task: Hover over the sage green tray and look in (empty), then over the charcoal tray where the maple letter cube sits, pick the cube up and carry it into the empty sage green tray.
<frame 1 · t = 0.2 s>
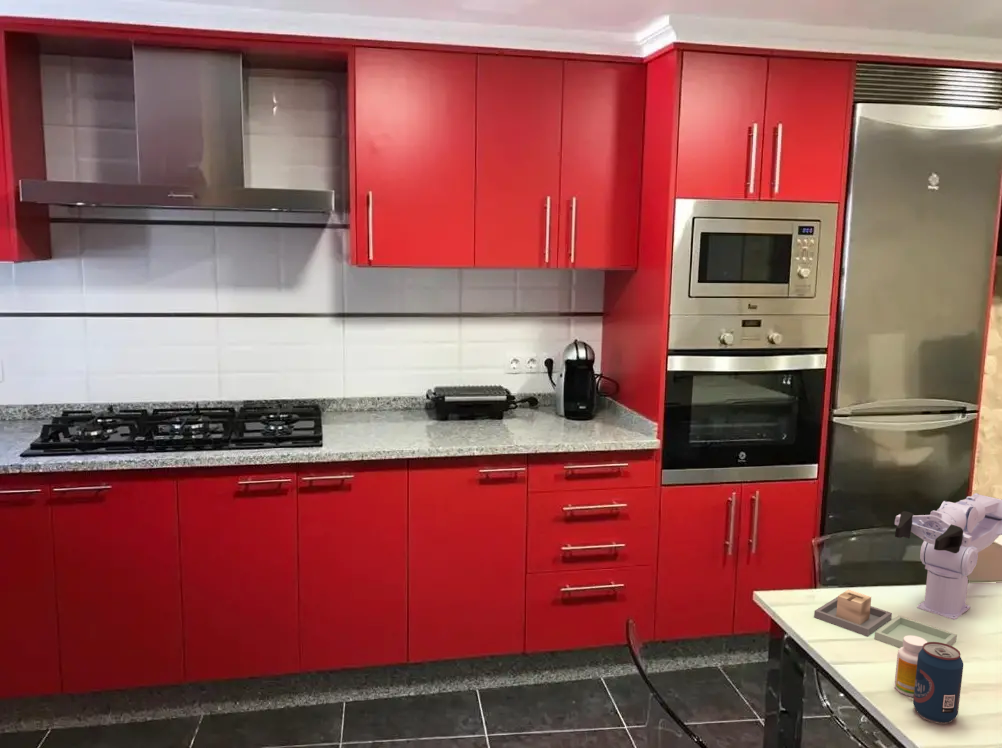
hand: (916, 538, 170), 21 cm above the table, tool horizontal, fingers open, 7 cm apart
supplement bottle: (910, 691, 153), on the table
sage tray: (915, 641, 172), on the table
charcoal tray: (852, 619, 181), on the table
soda can: (934, 715, 146), on the table
letter cube: (852, 618, 181), resting on charcoal tray
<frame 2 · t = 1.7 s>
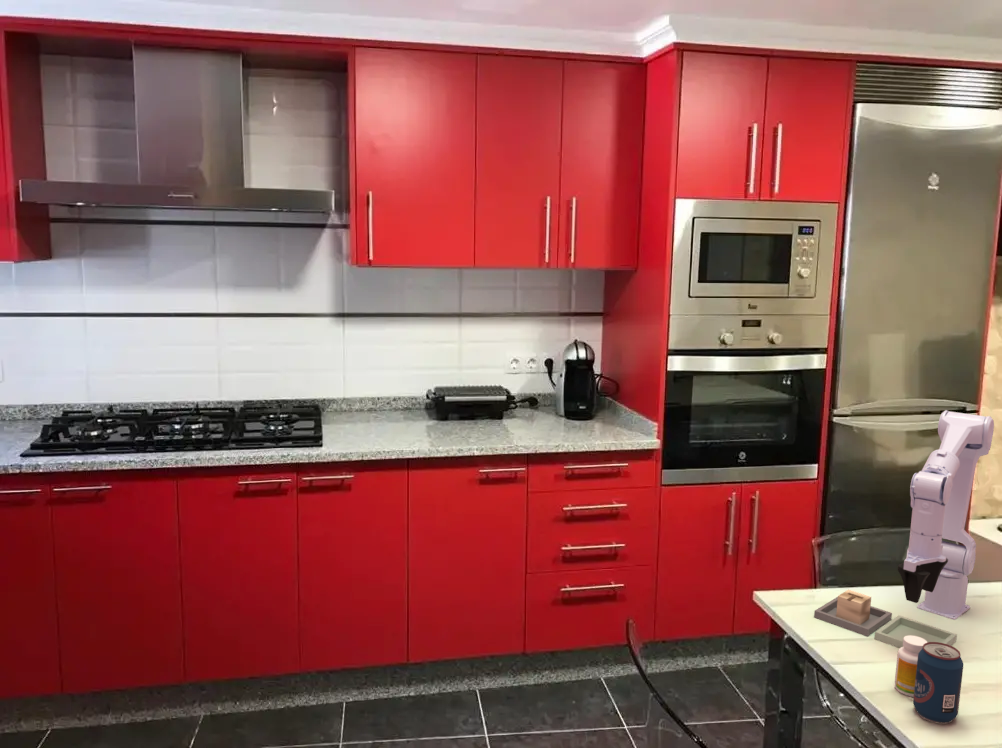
hand: (919, 595, 170), 10 cm above the table, tool pointing down, fingers open, 7 cm apart
nothing on the table moved.
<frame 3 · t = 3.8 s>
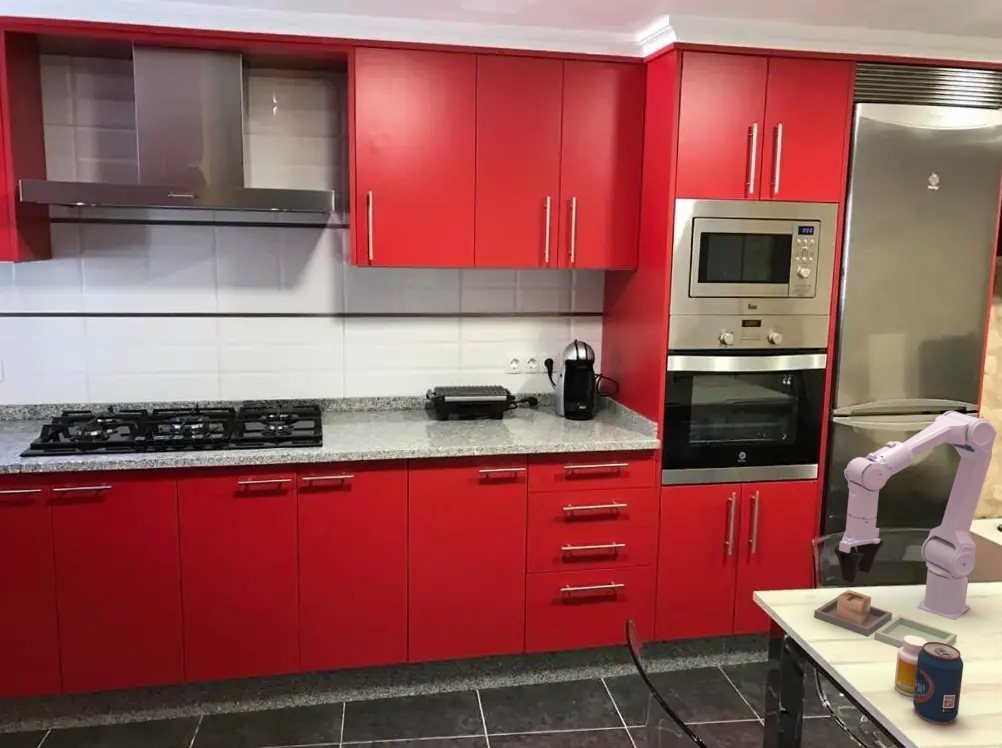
hand: (856, 576, 179), 10 cm above the table, tool pointing down, fingers open, 7 cm apart
nothing on the table moved.
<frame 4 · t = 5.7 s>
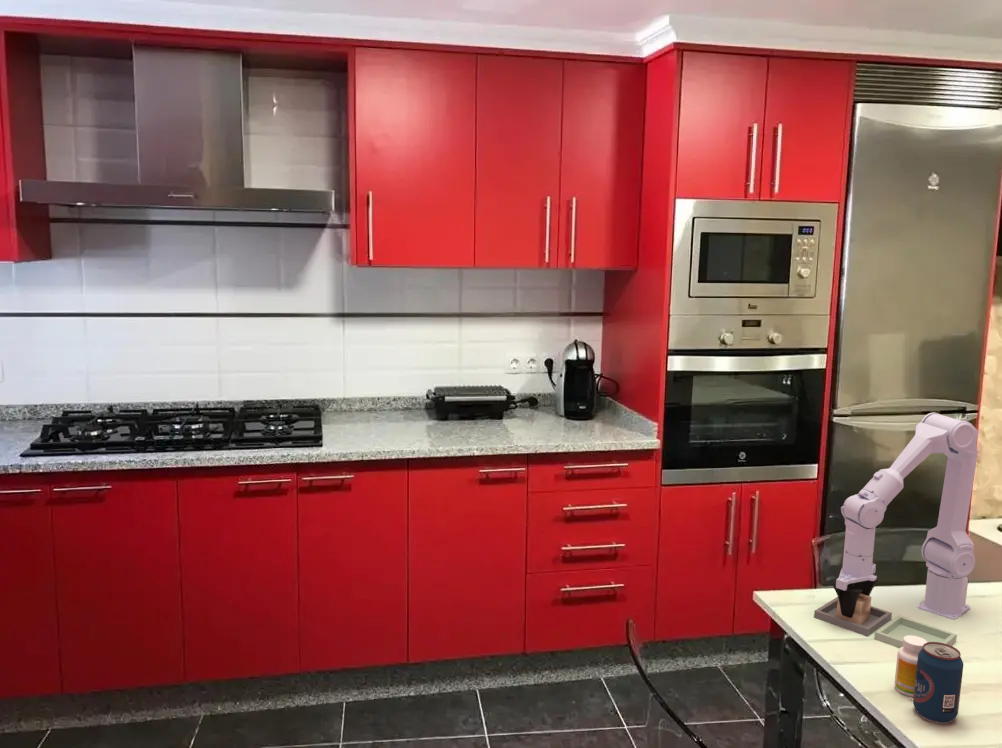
hand: (853, 612, 181), 2 cm above the table, tool pointing down, fingers closed on letter cube, 5 cm apart
letter cube: (852, 618, 181), resting on charcoal tray, touching gripper
everything else where it was.
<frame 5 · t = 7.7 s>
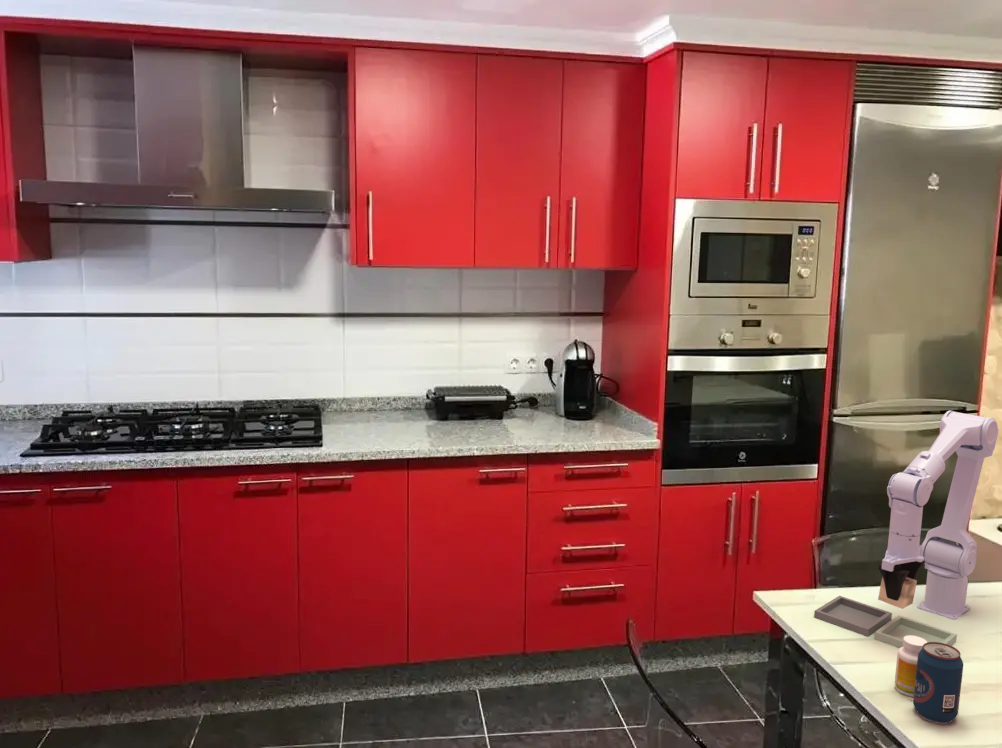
hand: (898, 594, 173), 9 cm above the table, tool pointing down, fingers closed on letter cube, 5 cm apart
letter cube: (895, 601, 174), point 7 cm above the table, touching gripper
everything else where it was.
when the fingers open (3 cm above the table, at t = 9.5 s): letter cube drops 2 cm, resting on sage tray.
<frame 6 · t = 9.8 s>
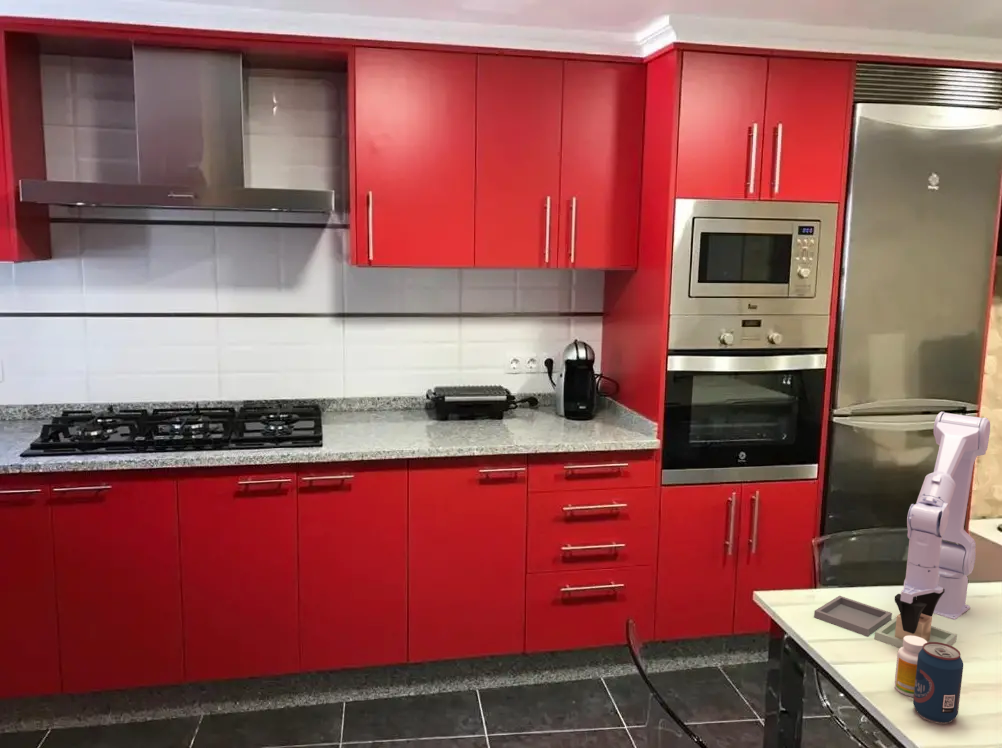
hand: (916, 625, 171), 3 cm above the table, tool pointing down, fingers open, 7 cm apart
letter cube: (912, 639, 172), resting on sage tray
everything else where it was.
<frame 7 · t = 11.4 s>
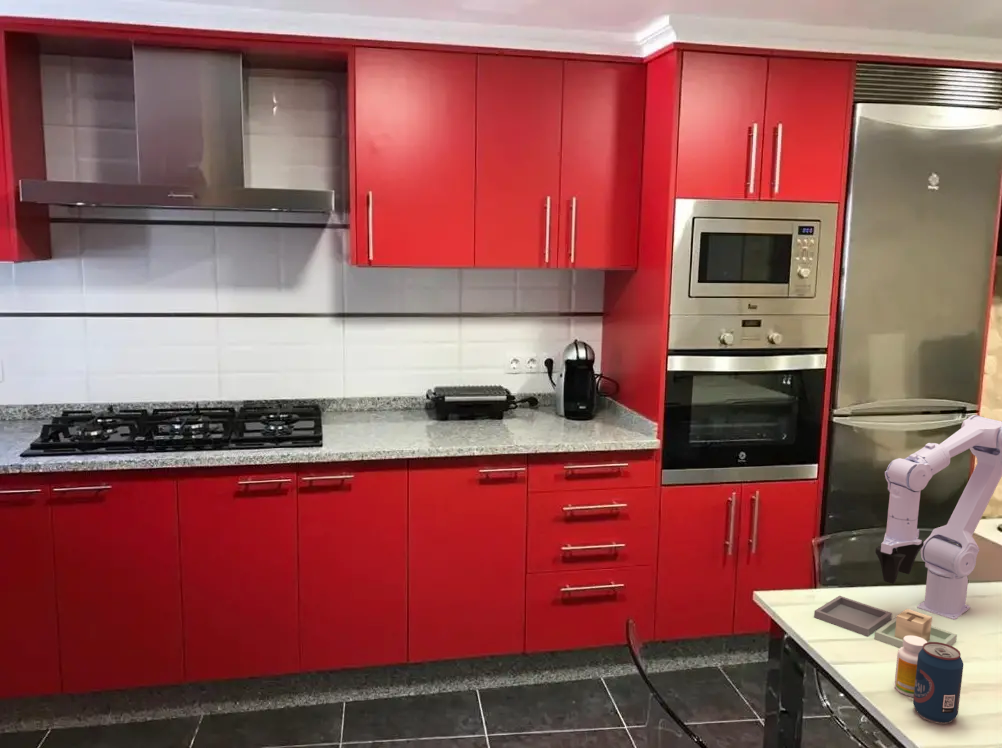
hand: (896, 577, 179), 10 cm above the table, tool pointing down, fingers open, 7 cm apart
nothing on the table moved.
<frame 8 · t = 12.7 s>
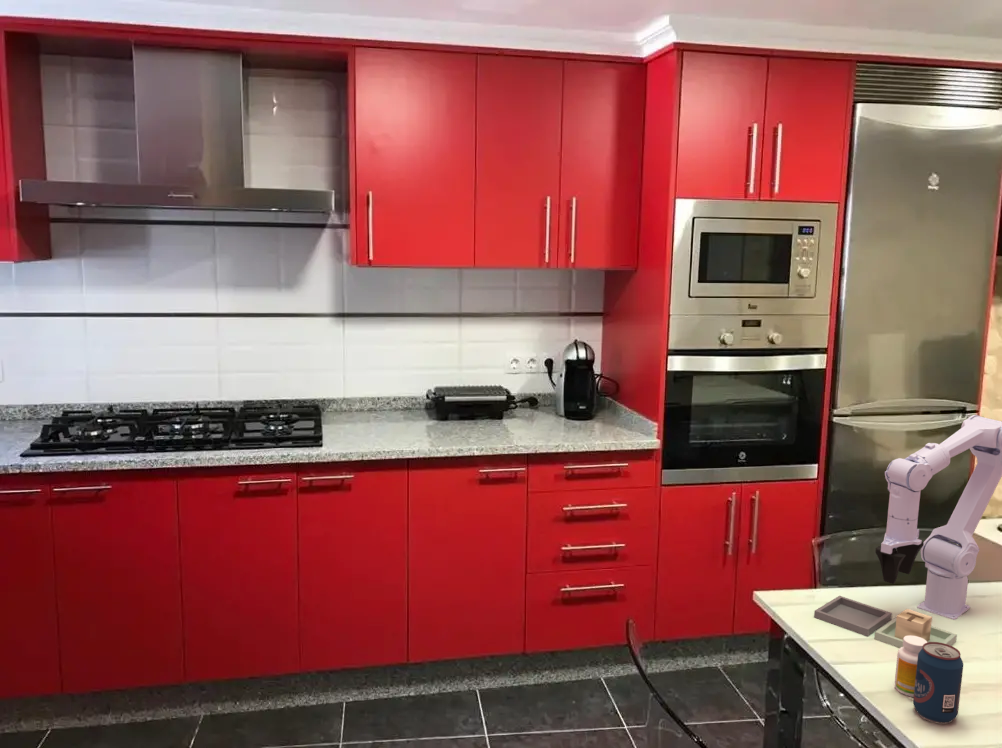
hand: (896, 577, 179), 10 cm above the table, tool pointing down, fingers open, 7 cm apart
nothing on the table moved.
at the end: letter cube 0.6 cm off-centre on the sage tray, point 0.3 cm above the sage tray's base; letter cube tilted 0°; the gripper is holding nothing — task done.
